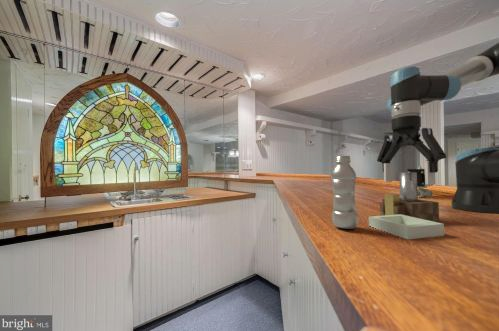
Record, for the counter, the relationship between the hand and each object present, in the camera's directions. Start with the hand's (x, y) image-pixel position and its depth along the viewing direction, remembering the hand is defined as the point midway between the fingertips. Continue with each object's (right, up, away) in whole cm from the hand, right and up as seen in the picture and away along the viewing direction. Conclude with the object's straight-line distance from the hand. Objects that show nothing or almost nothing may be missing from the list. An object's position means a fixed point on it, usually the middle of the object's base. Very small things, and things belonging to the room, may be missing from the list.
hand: (407, 182), depth 64 cm
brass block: (-6, -11, -2) cm, 13 cm away
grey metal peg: (0, -12, 0) cm, 12 cm away
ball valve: (+46, -13, +47) cm, 68 cm away
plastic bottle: (-24, -12, -9) cm, 29 cm away
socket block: (-1, -12, -1) cm, 12 cm away
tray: (-10, -12, -12) cm, 20 cm away
